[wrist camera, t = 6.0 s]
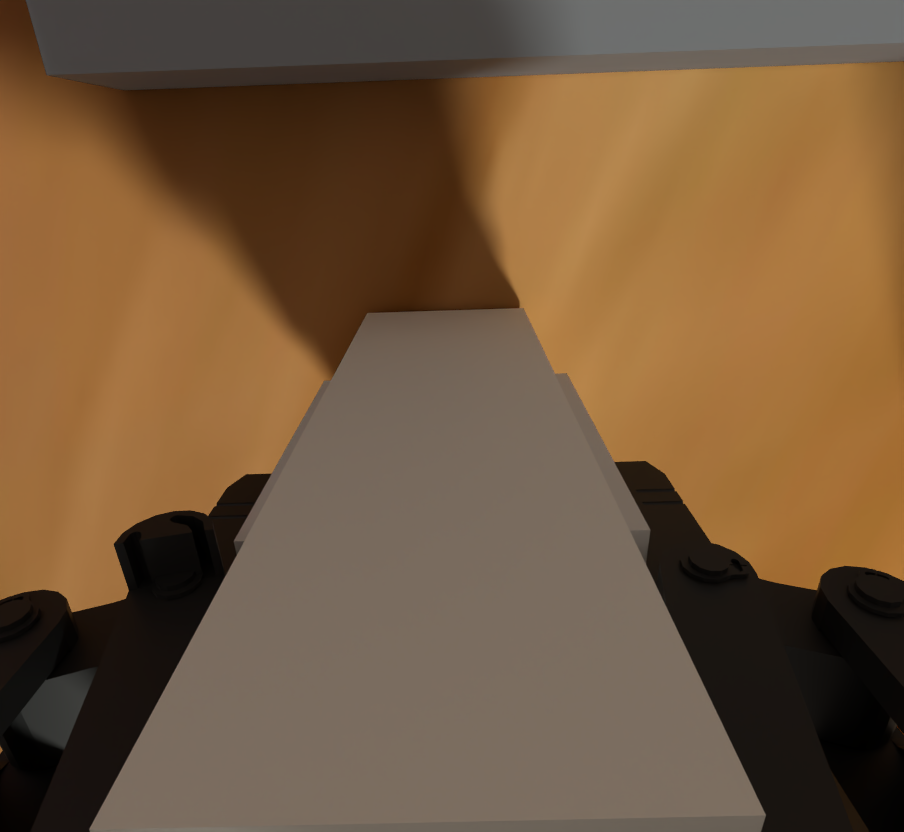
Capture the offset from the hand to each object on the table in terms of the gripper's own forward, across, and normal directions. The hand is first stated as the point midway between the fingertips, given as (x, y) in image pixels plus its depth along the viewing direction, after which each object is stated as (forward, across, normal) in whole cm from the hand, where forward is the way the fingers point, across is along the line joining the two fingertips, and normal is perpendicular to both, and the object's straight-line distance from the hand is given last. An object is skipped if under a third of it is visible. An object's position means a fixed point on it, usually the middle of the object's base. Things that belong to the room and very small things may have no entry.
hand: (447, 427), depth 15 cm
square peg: (+3, 0, 0) cm, 3 cm away
